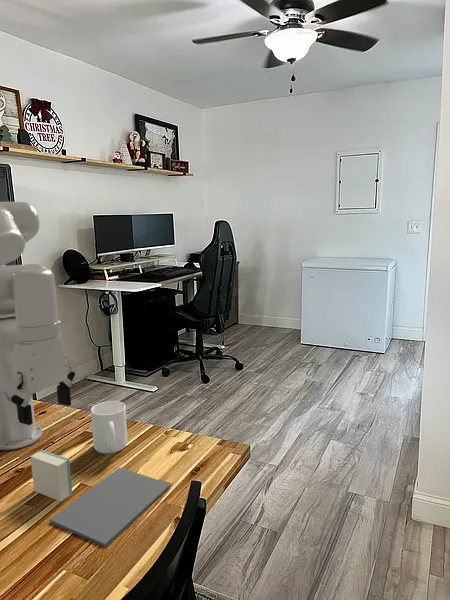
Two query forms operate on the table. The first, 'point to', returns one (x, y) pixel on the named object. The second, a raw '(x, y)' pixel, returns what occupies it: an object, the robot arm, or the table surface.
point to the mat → (110, 506)
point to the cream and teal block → (51, 475)
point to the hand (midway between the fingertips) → (46, 413)
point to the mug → (109, 426)
